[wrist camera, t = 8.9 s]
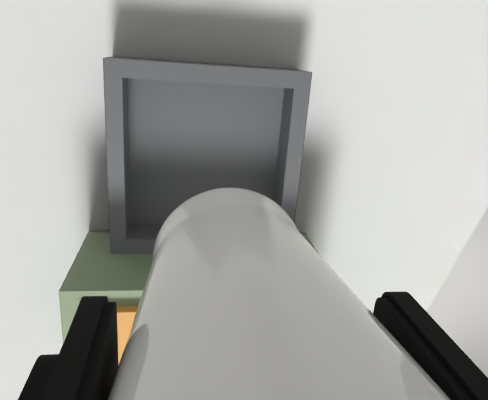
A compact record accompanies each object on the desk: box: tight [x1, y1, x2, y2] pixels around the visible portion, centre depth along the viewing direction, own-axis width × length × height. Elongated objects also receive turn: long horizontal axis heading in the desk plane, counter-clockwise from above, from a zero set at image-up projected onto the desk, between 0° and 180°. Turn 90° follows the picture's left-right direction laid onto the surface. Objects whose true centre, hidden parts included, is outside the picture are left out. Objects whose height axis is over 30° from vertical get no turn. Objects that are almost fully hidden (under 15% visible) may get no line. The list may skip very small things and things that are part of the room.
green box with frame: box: [59, 57, 318, 363], centre depth 27 cm, size 22×16×9 cm
